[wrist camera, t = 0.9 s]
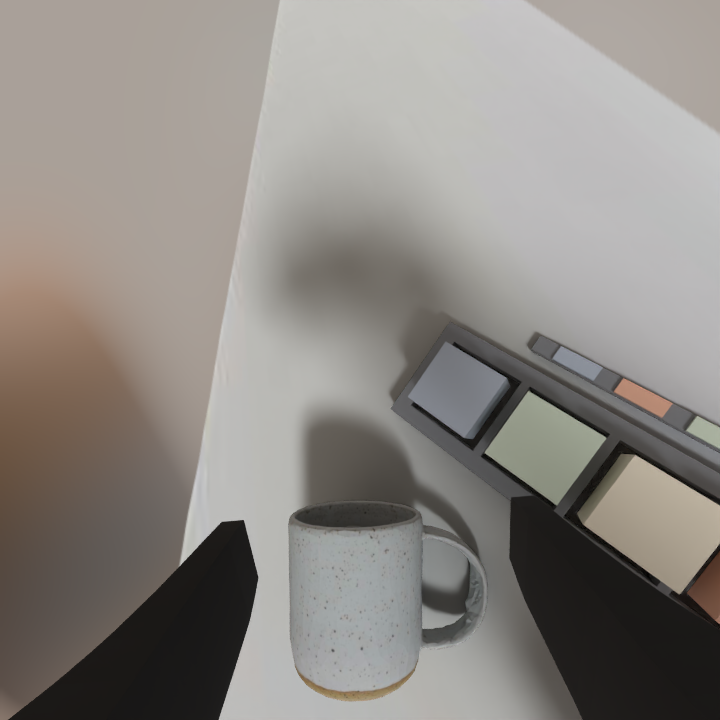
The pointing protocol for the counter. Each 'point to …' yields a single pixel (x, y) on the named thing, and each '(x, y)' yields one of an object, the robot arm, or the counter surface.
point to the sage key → (544, 447)
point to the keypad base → (573, 403)
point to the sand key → (653, 520)
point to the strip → (631, 393)
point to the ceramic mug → (366, 597)
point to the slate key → (459, 390)
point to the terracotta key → (708, 589)
